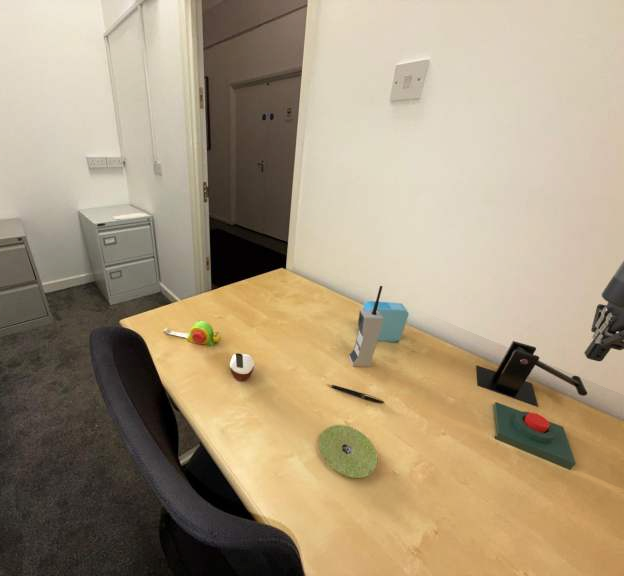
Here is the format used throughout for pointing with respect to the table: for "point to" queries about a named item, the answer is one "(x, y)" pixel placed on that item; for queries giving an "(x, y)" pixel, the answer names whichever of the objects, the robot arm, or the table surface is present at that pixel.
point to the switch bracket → (511, 374)
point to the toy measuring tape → (198, 334)
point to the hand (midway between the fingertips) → (592, 357)
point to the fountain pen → (357, 394)
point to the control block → (532, 436)
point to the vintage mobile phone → (367, 335)
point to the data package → (390, 319)
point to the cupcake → (241, 366)
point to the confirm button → (536, 422)
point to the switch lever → (560, 375)
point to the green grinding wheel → (348, 451)
